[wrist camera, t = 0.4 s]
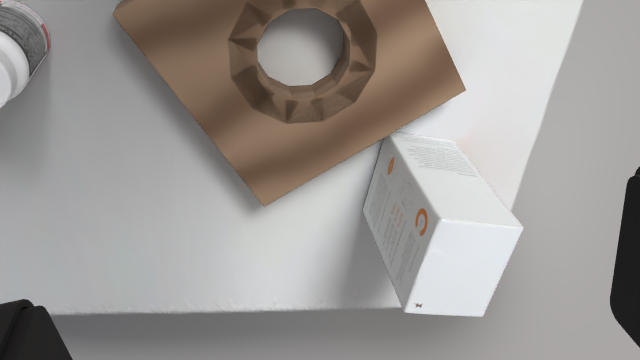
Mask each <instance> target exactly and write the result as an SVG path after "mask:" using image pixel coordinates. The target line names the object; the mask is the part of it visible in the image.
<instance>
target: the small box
mask: <svg viewBox="0 0 640 360" xmlns="http://www.w3.org/2000/svg"><path fill="white" fill-rule="evenodd" d="M363 213H364V215H365V217H366V220H367V222H368V225H369V227H370V229H371V232H372V234H373V237H374V239H375V241H376V244H377V246H378V249H379V251H380V254H381V256H382V259H383V262H384V264H385V266H386V269H387V271H388V274H389V276H390V279H391V281H392V284H393V286H394V289H395V291H396V293H397V296H398V298H399V301H400V303H401V306H402V308H403V311H404V312H405V313H419V314H435V315H457V316H481V317H482V316H484V313H485V311H486V309H487V307H488V305H489V303H490V300H491V298H492V296H493V294H494V292H495V290H496V287H497V285H498V283H499V281H500V279H501V276H502V274H503V272H504V270H505V268H506V266H507V264H508V261H509V259H510V257H511V255H512V253H513V251H514V248H515V246H516V244H517V242H518V240H519V238H520V236H521V233H522V231H523V229H524V228H523V226H522V225H521V224H520V223H519V221H518V220H517V219H516V218H515V216H514V215H513V214H512V213H511V211H510V210H509V209H508V207H507V206H506V205H505V204H504V202H503V201H502V200H501V199H500V197H499V196H498V195H497V194H496V192H495V191H494V190H493V189H492V187H491V186H490V185H489V184H488V182H487V181H486V180H485V179H484V177H483V176H482V175H481V174H480V172H479V171H478V170H477V168H476V167H475V166H474V165H473V163H472V162H471V161H470V160H469V158H468V157H467V156H466V155H465V153H464V152H463V151H462V150H461V148H460V147H459V146H458V145H457V143H456V142H455V141H453V140H449V139H441V138H434V137H426V136H418V135H412V134H404V133H396V132H393V133H391V134H389V135H388V136H386V137H384V140H383V144H382V147H381V150H380V154H379V157H378V160H377V164H376V167H375V170H374V174H373V177H372V180H371V184H370V187H369V190H368V194H367V197H366V201H365V204H364V208H363Z"/></svg>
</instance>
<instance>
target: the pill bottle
mask: <svg viewBox="0 0 640 360" xmlns="http://www.w3.org/2000/svg"><path fill="white" fill-rule="evenodd" d="M49 47H50V36H49V32H48V29H47V27H46V25H45V23H44V21H43V20H42V19H41V18H40V17H39V15H38V14H36V13H35V12H34V11H33V10H32V9H30V8H29V7H27V6H25V5H23V4H21V3H19V2H15V1H10V0H0V108H1V107H2V106H4V105H5V104H6V102H7V101H8V100H11V99H13V98H14V97H16V96H17V95H18V94H20V93H21V91H22V90H23V89H24V88H25V86H26V85H27V83H28V82H29V80H30V79H31V77H32V76H33V74H34V73H35V71H36V70H37V68H38V67H39V65H40V64H41V63H42V61H43V60H44V58H45V57H46V55H47V53H48V51H49Z"/></svg>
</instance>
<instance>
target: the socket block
mask: <svg viewBox="0 0 640 360" xmlns="http://www.w3.org/2000/svg"><path fill="white" fill-rule="evenodd" d="M304 8H317V9H319V10H321V11H323V12H325V13H327V14H328V15H330V16H332V17H334V18H336V19H337V20H338V22H339V24H340V25H341V27H342V29H343V54H342V56H341V57H340V59H339V61H338V62H337V64H336V66H335V67H334V69H333V71H332V72H331V74H329V75H327V76H326V77H324V78H323V79H321V80H319V81H318V82H316V83H314V84H313V85H307V86H289V87H288V86H286V85H284V84H282V83H280V82H278V81H276V80H274V79H272V78H270V77H268V76H267V74H266V73H265V71H264V70H263V68H262V67H261V65H260V64H259V62H258V61H257V44H258V42H259V40H260V38H261V36H262V34H263V32H264V31H265V29H266V27H267V25H268V23H269V22H271V21H272V20H274V19H276V18H277V17H279V16H280V15H282V14H284V13H285V12H287V11H288V10H290V9H304ZM113 16H114V17H115V18H116V20H117V21H118V22H119V23H120V25H121V26H122V27H123V29H124V30H125V31H126V32H127V34H128V35H129V36H130V37H131V39H132V40H133V41H134V42H135V44H136V45H137V46H138V48H139V49H140V50H141V51H142V53H143V54H144V55H145V56H146V58H147V59H148V60H149V62H150V63H151V64H152V65H153V67H154V68H155V69H156V70H157V72H158V73H159V74H160V75H161V77H162V78H163V79H164V81H165V82H166V83H167V84H168V86H169V87H170V88H171V89H172V91H173V92H174V93H175V94H176V96H177V97H178V98H179V100H180V101H181V102H182V103H183V105H184V106H185V107H186V108H187V110H188V111H189V112H190V113H191V115H192V116H193V117H194V119H195V120H196V121H197V122H198V124H199V125H200V126H201V127H202V129H203V130H204V131H205V132H206V134H207V135H208V136H209V138H210V139H211V140H212V141H213V143H214V144H215V145H216V146H217V148H218V149H219V150H220V152H221V153H222V154H223V155H224V157H225V158H226V159H227V160H228V162H229V163H230V164H231V165H232V167H233V168H234V169H235V171H236V172H237V173H238V174H239V176H240V177H241V178H242V179H243V181H244V182H245V183H246V184H247V186H248V187H249V188H250V190H251V191H252V192H253V193H254V195H255V196H256V197H257V198H258V200H259V201H260V202H261V203H262V205H263V206H264V207H265V206H266V205H268V204H270V203H271V202H273V201H275V200H277V199H278V198H280V197H282V196H284V195H285V194H287V193H289V192H291V191H292V190H294V189H296V188H297V187H299V186H301V185H303V184H304V183H306V182H308V181H310V180H311V179H313V178H315V177H317V176H318V175H320V174H322V173H323V172H325V171H327V170H329V169H330V168H332V167H334V166H336V165H337V164H339V163H341V162H343V161H344V160H346V159H348V158H349V157H351V156H353V155H355V154H356V153H358V152H360V151H362V150H363V149H365V148H367V147H369V146H370V145H372V144H374V143H375V142H377V141H379V140H381V139H382V138H384V137H386V136H388V135H389V134H391V133H393V132H395V131H396V130H398V129H400V128H401V127H403V126H405V125H407V124H408V123H410V122H412V121H414V120H415V119H417V118H419V117H420V116H422V115H424V114H426V113H427V112H429V111H431V110H433V109H434V108H436V107H438V106H440V105H441V104H443V103H445V102H446V101H448V100H450V99H452V98H453V97H455V96H457V95H459V94H460V93H462V92H464V91H466V89H465V86H464V84H463V82H462V80H461V78H460V76H459V73H458V71H457V69H456V67H455V65H454V63H453V60H452V58H451V56H450V54H449V52H448V49H447V47H446V45H445V43H444V41H443V39H442V36H441V34H440V32H439V30H438V28H437V26H436V23H435V21H434V19H433V17H432V15H431V13H430V10H429V8H428V6H427V4H426V2H425V0H124V1H122V2H121V3H119V4H118V5H117V7H116V9H115V11H114V13H113Z"/></svg>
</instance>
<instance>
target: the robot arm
mask: <svg viewBox="0 0 640 360" xmlns="http://www.w3.org/2000/svg"><path fill="white" fill-rule="evenodd" d="M610 306H611V310H612V313H613V315H614V317H615V319H616V320H617V321H618V323H619V324H620V325H621V326H622V327H623V329H624V330H625V331H626V332H627V333H628V335H629V336H630V337H631V338H632V339H633V340H634V342H635V343H636V344H637V345H638V346H639V347H640V167H639V168H638V169H637V171H636V173H635V176H633V177H631V178H630V179H629V180H628V183H627V187H626V194H625V201H624V207H623V214H622V221H621V228H620V235H619V241H618V248H617V255H616V262H615V268H614V275H613V282H612V289H611V295H610ZM0 360H72V358H71V356H70V354H69V352H68V350H67V348H66V346H65V344H64V342H63V340H62V338H61V337H60V335H59V333H58V331H57V329H56V327H55V325H54V323H53V321H52V319H51V317H50V315H49V313H48V312H47V310H46V309H45V308H44V307H43V306H35V307H34V305H33V304H32V303H31V302H30V301H29V300H26V299H22V300H18V301H13V302H8V303H4V304H0Z"/></svg>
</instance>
